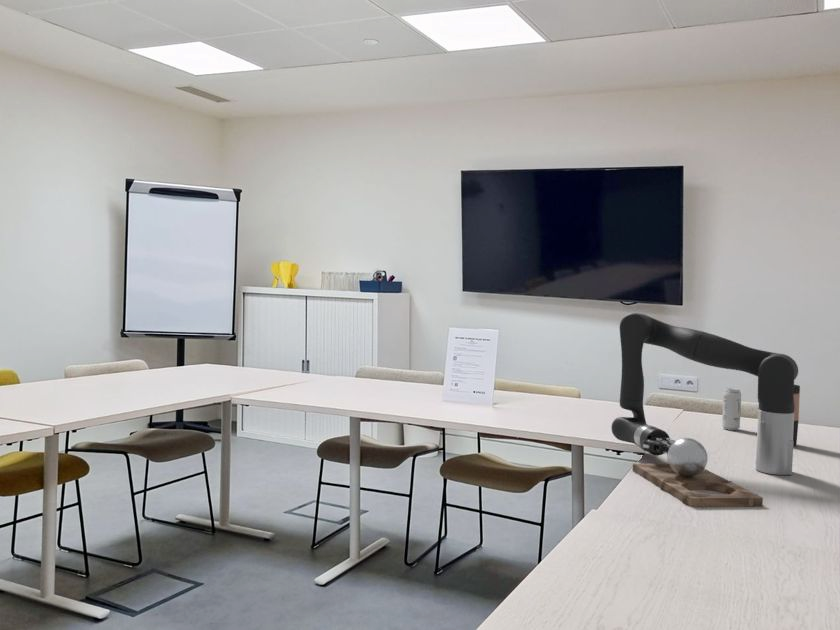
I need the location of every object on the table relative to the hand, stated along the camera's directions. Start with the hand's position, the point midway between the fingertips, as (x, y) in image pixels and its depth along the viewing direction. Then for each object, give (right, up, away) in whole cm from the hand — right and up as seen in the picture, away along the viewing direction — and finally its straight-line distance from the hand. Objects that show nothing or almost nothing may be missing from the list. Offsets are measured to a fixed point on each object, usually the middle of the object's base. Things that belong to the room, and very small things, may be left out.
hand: (678, 452), depth 205 cm
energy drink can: (+45, -5, +77) cm, 89 cm away
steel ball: (+1, 0, -5) cm, 5 cm away
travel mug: (+53, -7, +52) cm, 74 cm away
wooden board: (+1, -7, -8) cm, 11 cm away
